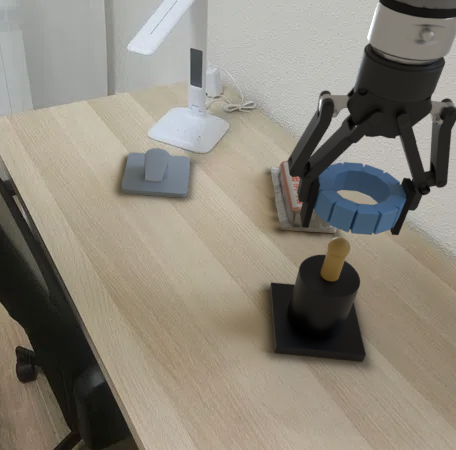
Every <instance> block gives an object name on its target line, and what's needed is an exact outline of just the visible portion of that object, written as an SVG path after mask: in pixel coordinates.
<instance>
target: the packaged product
mask: <svg viewBox="0 0 456 450" xmlns="http://www.w3.org/2000/svg"><path fill="white" fill-rule="evenodd" d="M270 175H271V181H272V184H273V191H274V201H275V203H274V204H275V208H276V210H277V217H278V221H279V227H280V228H279V229H280V230H282V231H283V230H284V231H299V232H311V233H326V234H327V233H328V234H336V233H337V230H338V228H336V227H333V226H331V225H329V222H327V223H326V222H325V221H324V220H323V219H322V218H321V217H319V216H318V215H317V214H316V213H315V212H314V210H315V209H313V213H312V217H311V220H310V224H309V228H302V223H301V217H300V211H301V207H302V203H303V202H299V200H298V194H297V190H298V185H299V181H300V177H298V176H297V177H292V176H290V174H289V168H288V159H287V160H284V161H281V162H280V164H279V165H278V166H276V167H273V166H270Z"/></svg>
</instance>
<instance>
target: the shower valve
mask: <svg viewBox="0 0 456 450" xmlns="http://www.w3.org/2000/svg"><path fill="white" fill-rule="evenodd" d="M190 166H191V158H190V157H189V156H185V155H184V156H183V155H171V154H170V152H169V151H167V150H166V149H165V148H161V147H152V148H149V149H147V151H145V152H130V153H128V155H127V159H126V162H125V166H124V167H125V168H124V171H123V175H122V180H121V185H120V191H121V192H122V193H123V194H128V195H129V194H130V195H141V196H153V197H154V196H156V197H166V198H179V199H183V198H186V197H188V191H189V179H190V169H191V168H190Z"/></svg>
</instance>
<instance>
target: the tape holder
mask: <svg viewBox="0 0 456 450" xmlns="http://www.w3.org/2000/svg"><path fill="white" fill-rule="evenodd" d="M326 249H327V251H326V253H325V254H314V255H310V256H309V257H306V258H305V259H304V260H303V261H302V262H301V263H300V265H299V268H298V271H297V275H296V278H295V281H294V283H292V284H291V283H283V282H282V283H281V282H272V281H271V282H270V286H269V300H270V301H269V302H270V312H271V327H272V335H273V336H272V339H273V351H274V354H281V355H282V354H283V355H292V356H303V357H313V358H323V359H324V358H325V359H334V360H343V361H352V362H353V361H354V362H364V360H365V358H366V355H367V354H366V350H365V346H364V341H363V336H362V332H361V329H360V324H359V319H358V315H357V311H356V306H355V303H354V302H355V299H356V296H357V294H358V291H359V289H360V286H361V278H360V275H359V273H358V271H357V269H356V268H354V266H353V265H351V264H350V263H349V262H348V261H347V260H346V259H347V256H348V255H349V254H350V253H351V244H350V242H349V240H348V239H346V238H345V237H343V236H335V237H333V238H331V239H330V240H329V241H328V243H327V246H326Z"/></svg>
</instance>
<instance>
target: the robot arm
mask: <svg viewBox="0 0 456 450" xmlns="http://www.w3.org/2000/svg"><path fill="white" fill-rule="evenodd" d="M375 6H376V7H375V9H374V12H373V13H374V14H373V17H372V20H371V23H370V26H369V30H368V33H367V42H369V43H367V44H366V45H365V46H364V48H363V52H362V56H361V59H360V63H359V67H358V70H357V73H356V76H355V81H354V84H353V86H352V88H351V89H350V90H349V92H347V94H346V95H345V94H332V93H331V91H329V90H326V89H325V90H321V92H320V93H319V95H318V101H317V106H316V107H317V108H316V110H315V112H314V114H313V116H312V118H311V119H310V121H309V123H308V124H307V126H306V127H305V129H304V131H303V133H302V135H301V136H300V138H299V140H298V141H297V143H296V145H295V147H294V148H293V150H292V152H291V153H290V155H289V157H288V158H287V160H288V168H289V174H290V176H292V177H297V176H298V177H300V181H299V185H298V190H297V194H298V200H299V202H303V203H302V207H301V211H300V217H301V223H302V228H309V224H310V220H311V217H312V213H313V209H314V206H315V202H316V198H317V195H318V191H319V187H320V182H319V178H318V176H319V175H320V174H321V173H323V172H324V171H325V170H326V169H327V168H328V167H329V166H330V165H333V164H334V162H335V161H336V160H337V159H339V157H341V155H343V154H344V153H345V152H346V150H348V149H349V148H350V147H351V146H352V145H353V144H357V143H359V142H360V141H361V139H363V138H364V137H367V138H377V137H383V138H386V139H394V140H395V139H396V137H399V139H400V143H401V147H402V149H403V153H404V156H405V159H406V162H407V166H408V169H409V173H410V175H411V178H410V177H403V178H402V181H401V182H400V184H401V185H402V186H403V189H404V191H405V193H406V201H405V204H404V206H403V209H402V211H401V213H400V216H399V218H398V220H397V222H396V223H395V225H394V227H393V228H391V229H390V230H389V231H390V234H391V235H392V236H399V235H400V233H401V230H402V227H403V225H404V222H405V221H406V217H407V215H408V214H409V211H413V212H414V211H416V210H417V209H418V207H419V205H420V203H421V200H422V198H423V196H427V195H429V194H430V193H431V188H432V187H436V188H437V189H442V188H444V187H446V185H447V184H448V178H449V165H450V151H451V142H452V131H453V128H454V126H455V124H456V105H455V103H454V102H453V100H452V99H451V98H449V97H446V98H444V99H442V100H440V101H438V100H436V101H435V100H432V96H433V94H434V92H435V91H436V88H437V85H438V83H439V81H440V78H441V75H442V72H443V70H444V69H445V68H444V67H445V66H446V60H445V57H446V56H447V55H448V54H449V53H450V51H451V49H452V47H453V44H454V41H455V38H456V0H377V3H376V5H375ZM343 109H347V110H348V111H347V112H348V113H349V114H348V115H347V116H346V117H345V118H344V120H343V121H342V122H341V125H340V126H339V128H338V129H336V131H334V132H333V133H332V134H331V135H330V136H329V137H328V138H327V140H325V141H324V142H323V144H321V145H320V147H319V148H317V147H318V145H319V144H320V142H321V140H322V139H323V137H324V135H325V134H326V132H327V130H328V129H329V127H330V126H331V123H332V121H333V119H334V118H337V117H338V115H339V114H340V113H341V111H342V110H343ZM427 116H429V118H430V120H431V121H432V122H431V137H430V138H431V139H430V154H429V155H430V157H429V170H425V168H424V165H423V162H422V158H421V155H420V151H419V147H418V144H417V139H416V135H415V133H414V128H413V127H414V126H416V125H417V124H418V123H419V122H421V121H422V120H423V119H425V118H426V117H427ZM316 149H317V150H316ZM315 150H316V151H315Z"/></svg>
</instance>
